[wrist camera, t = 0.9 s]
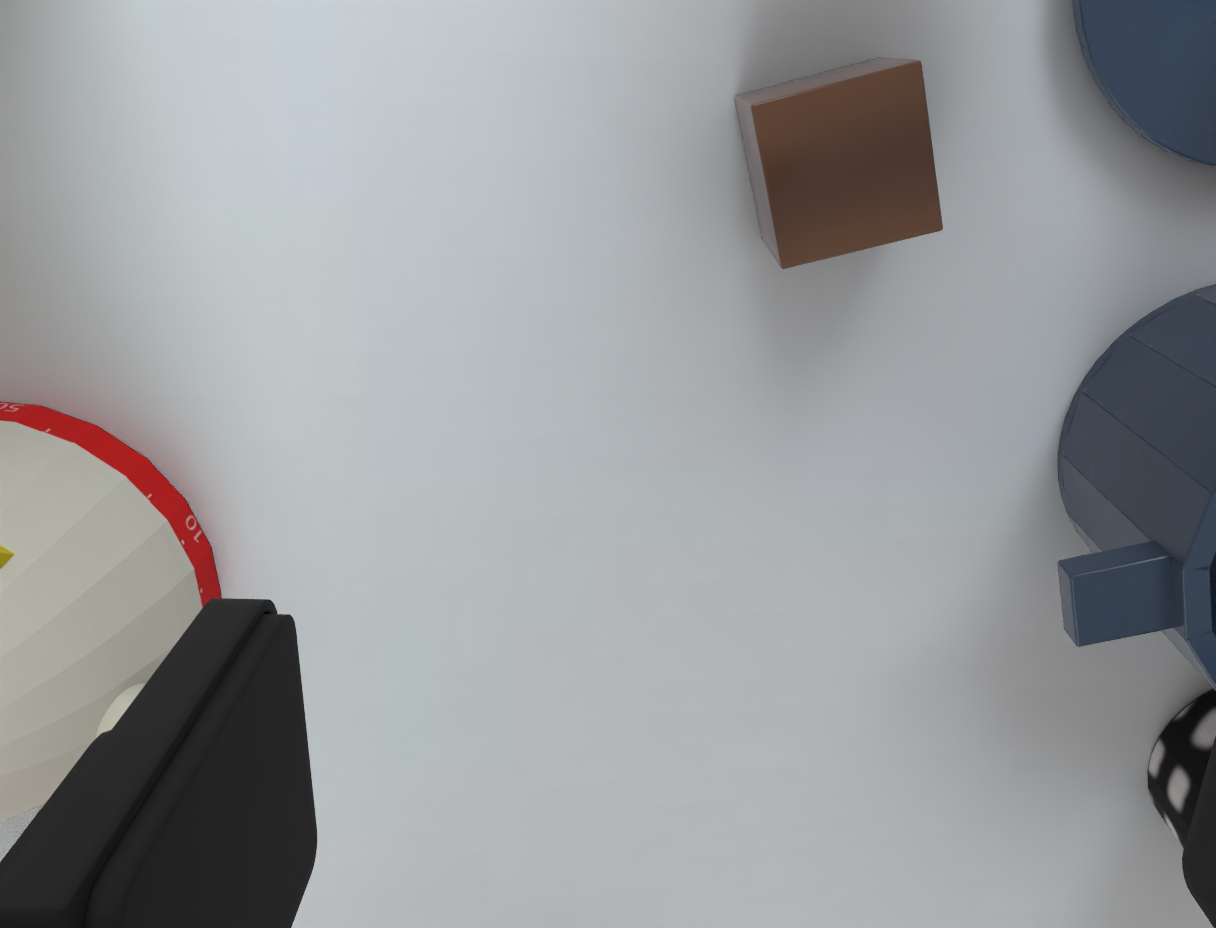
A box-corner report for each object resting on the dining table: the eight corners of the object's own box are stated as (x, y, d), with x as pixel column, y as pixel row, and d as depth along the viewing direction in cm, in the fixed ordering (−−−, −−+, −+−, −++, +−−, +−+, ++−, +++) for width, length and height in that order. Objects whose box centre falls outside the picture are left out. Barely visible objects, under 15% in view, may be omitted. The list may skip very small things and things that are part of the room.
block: (733, 95, 32) (749, 104, 28) (882, 56, 32) (921, 59, 28) (762, 241, 34) (781, 270, 30) (903, 206, 34) (943, 230, 29)
